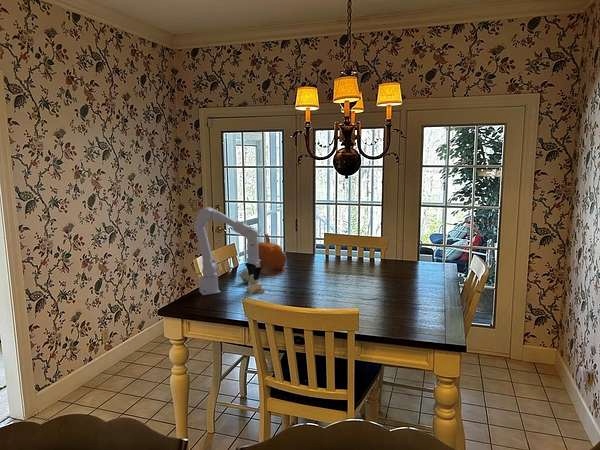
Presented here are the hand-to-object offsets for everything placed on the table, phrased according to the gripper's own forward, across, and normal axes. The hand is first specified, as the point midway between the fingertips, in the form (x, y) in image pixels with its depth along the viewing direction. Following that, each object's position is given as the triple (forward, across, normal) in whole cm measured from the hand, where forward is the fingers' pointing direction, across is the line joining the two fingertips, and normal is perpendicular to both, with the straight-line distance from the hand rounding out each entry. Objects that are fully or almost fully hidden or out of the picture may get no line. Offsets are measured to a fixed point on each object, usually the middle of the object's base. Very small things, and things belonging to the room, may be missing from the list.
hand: (253, 277), depth 229 cm
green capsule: (+3, 0, 0) cm, 3 cm away
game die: (+7, +16, -2) cm, 18 cm away
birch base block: (+8, 0, -1) cm, 8 cm away
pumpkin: (+8, +36, -22) cm, 43 cm away
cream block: (+5, 0, 0) cm, 5 cm away
